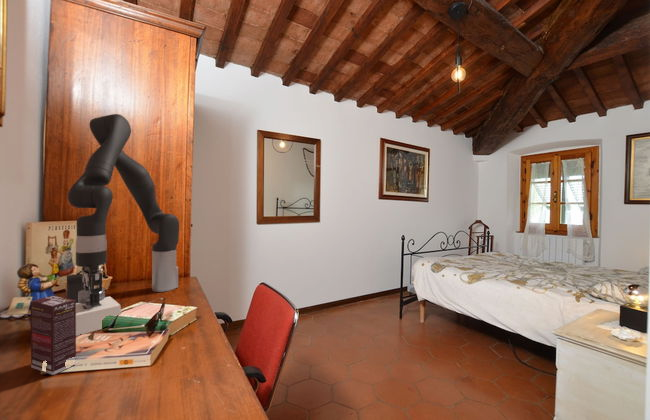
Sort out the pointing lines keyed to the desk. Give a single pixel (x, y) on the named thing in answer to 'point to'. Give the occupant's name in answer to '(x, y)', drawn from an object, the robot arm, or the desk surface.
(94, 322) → the block
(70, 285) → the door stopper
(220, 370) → the desk surface
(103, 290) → the grey mushroom knob
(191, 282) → the desk surface
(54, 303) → the supplement box
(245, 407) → the desk surface
